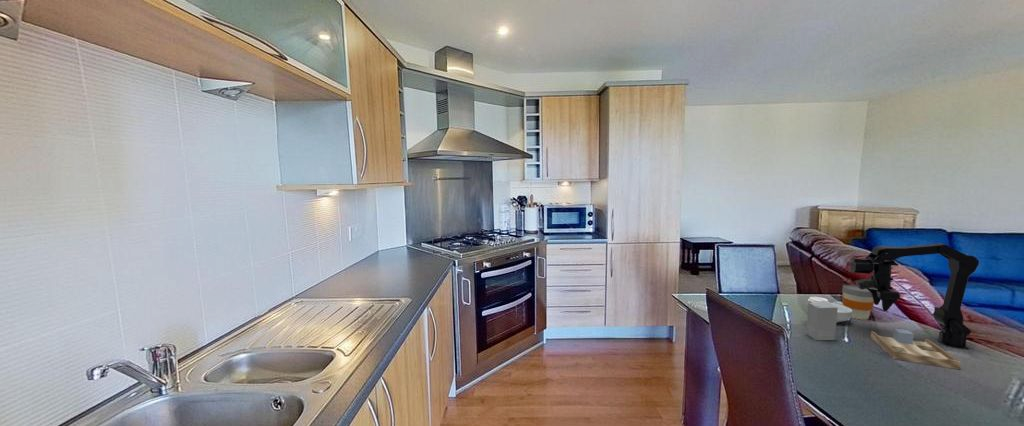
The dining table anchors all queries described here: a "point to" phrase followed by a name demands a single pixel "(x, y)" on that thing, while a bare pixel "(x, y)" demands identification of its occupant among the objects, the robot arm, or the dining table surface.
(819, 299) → the paper cup
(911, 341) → the slate block
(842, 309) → the cereal bowl
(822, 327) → the skincare box
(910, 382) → the dining table surface
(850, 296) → the reusable coffee cup
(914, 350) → the tray
